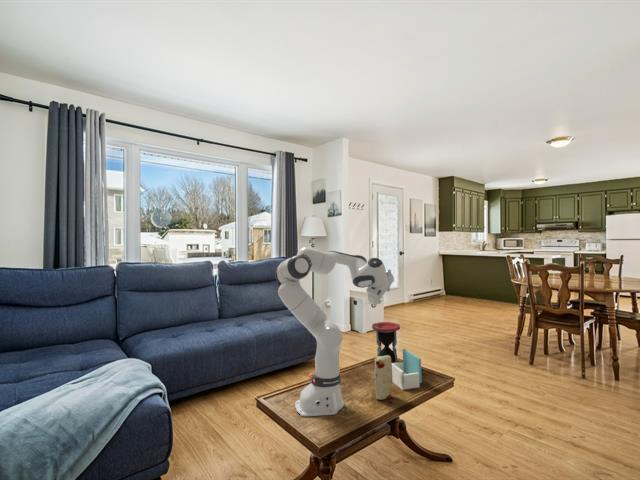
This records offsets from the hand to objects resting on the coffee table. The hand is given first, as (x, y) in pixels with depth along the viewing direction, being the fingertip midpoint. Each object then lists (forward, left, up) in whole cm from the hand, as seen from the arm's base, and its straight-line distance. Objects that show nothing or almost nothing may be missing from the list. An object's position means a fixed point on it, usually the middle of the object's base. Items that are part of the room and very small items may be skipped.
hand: (383, 296), depth 185 cm
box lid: (+9, -12, -41) cm, 44 cm away
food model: (-13, -25, -43) cm, 52 cm away
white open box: (+4, -12, -43) cm, 45 cm away
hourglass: (+5, +8, -43) cm, 44 cm away
